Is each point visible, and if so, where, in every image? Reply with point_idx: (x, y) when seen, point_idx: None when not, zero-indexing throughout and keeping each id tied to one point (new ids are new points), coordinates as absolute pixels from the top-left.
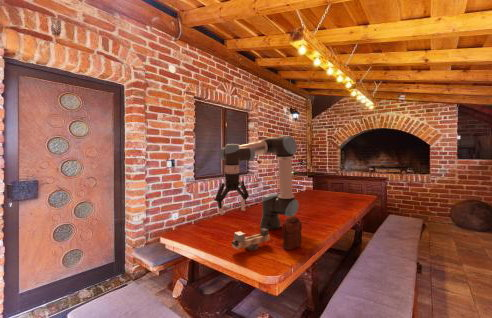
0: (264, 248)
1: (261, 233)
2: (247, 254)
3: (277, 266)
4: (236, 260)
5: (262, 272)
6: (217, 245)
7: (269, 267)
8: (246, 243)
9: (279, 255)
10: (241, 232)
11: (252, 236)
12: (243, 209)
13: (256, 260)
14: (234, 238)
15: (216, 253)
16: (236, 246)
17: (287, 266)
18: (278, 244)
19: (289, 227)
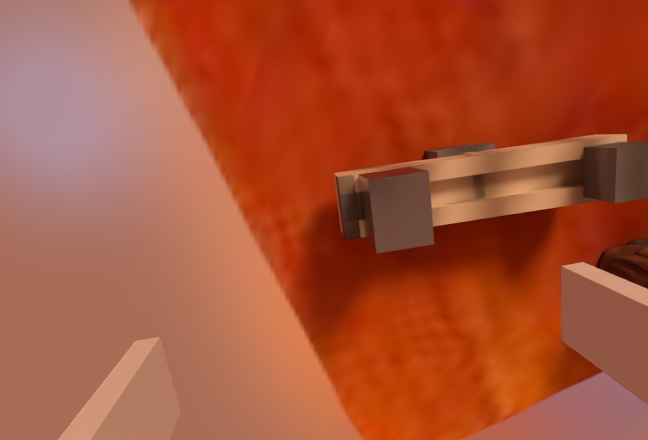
0: (515, 214)
1: (589, 161)
2: None
3: (447, 407)
4: (308, 281)
5: (362, 425)
6: (281, 23)
7: (412, 401)
8: None
9: (525, 322)
10: (424, 203)
11: (506, 167)
12: (578, 344)
13: (397, 322)
14: (360, 180)
15: (235, 147)
16: (343, 231)
17: (483, 422)
18: None
19: None
